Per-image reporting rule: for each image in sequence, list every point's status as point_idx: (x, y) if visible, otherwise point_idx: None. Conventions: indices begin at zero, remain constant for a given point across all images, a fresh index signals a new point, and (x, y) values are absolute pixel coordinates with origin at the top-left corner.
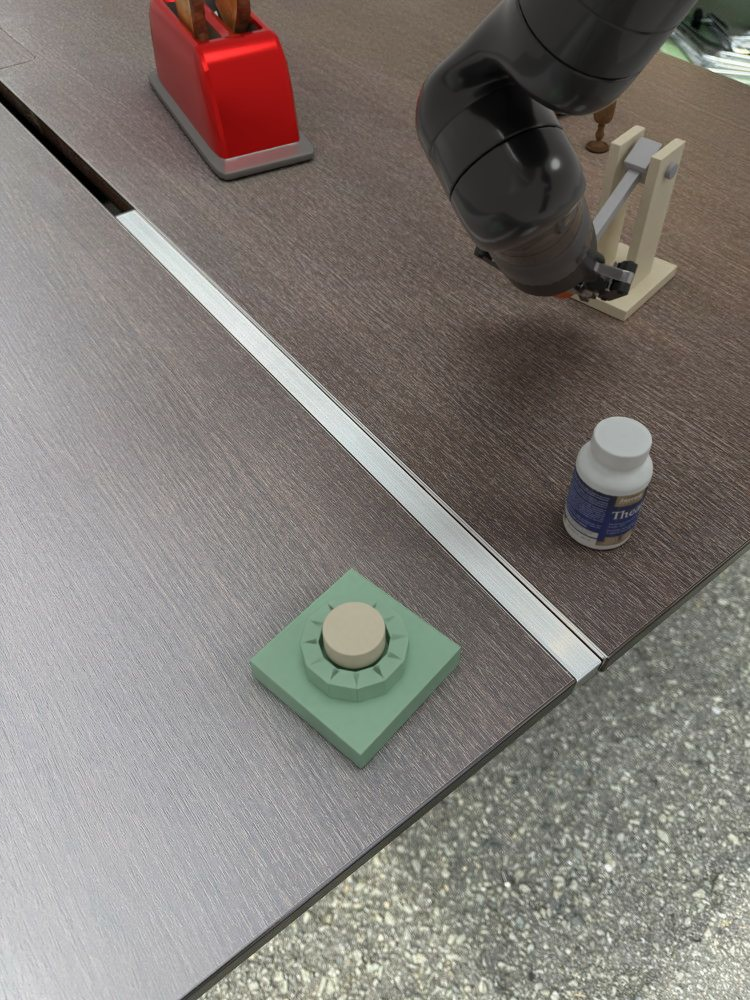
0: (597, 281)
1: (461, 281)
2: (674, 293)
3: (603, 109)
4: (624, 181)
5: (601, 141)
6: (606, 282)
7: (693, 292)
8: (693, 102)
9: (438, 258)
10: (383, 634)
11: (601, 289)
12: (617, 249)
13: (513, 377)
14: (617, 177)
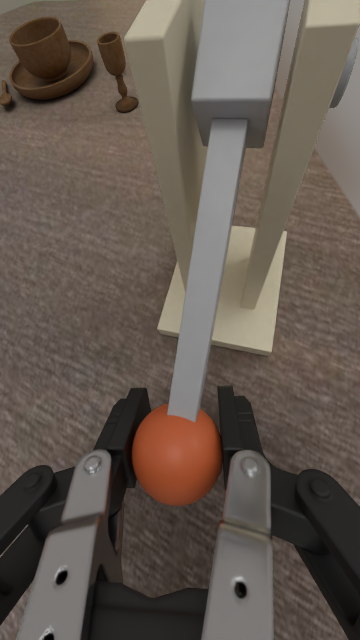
0: (285, 528)
1: (44, 371)
2: (298, 270)
3: (110, 52)
4: (215, 166)
5: (127, 96)
6: (318, 539)
7: (318, 258)
8: None
9: (9, 340)
10: None
11: (306, 549)
12: None
13: (172, 578)
14: (186, 156)
